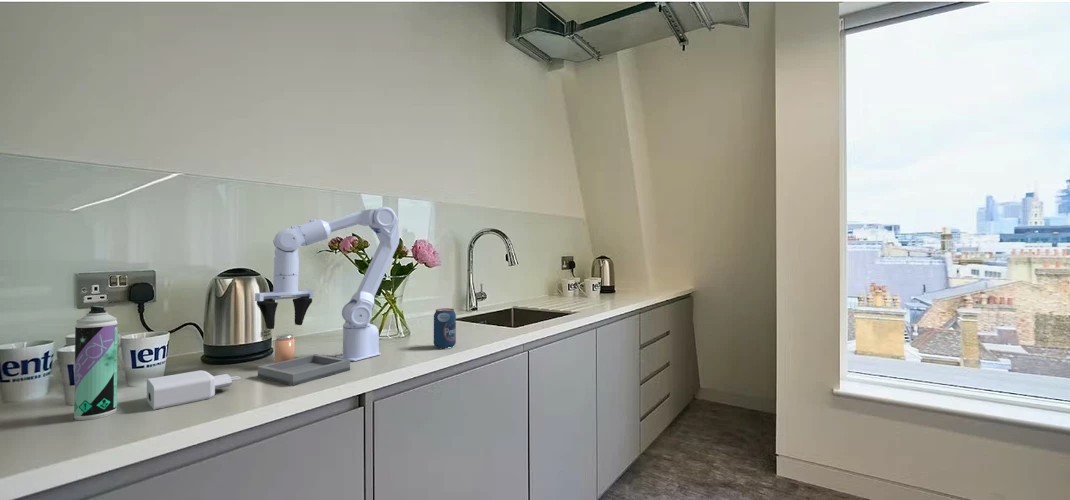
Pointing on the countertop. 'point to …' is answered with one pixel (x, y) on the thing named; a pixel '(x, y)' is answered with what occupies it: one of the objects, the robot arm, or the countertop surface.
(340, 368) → the tray
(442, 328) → the soda can
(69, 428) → the countertop surface
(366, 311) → the robot arm
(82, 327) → the spray can
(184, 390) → the charger
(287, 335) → the cylinder
